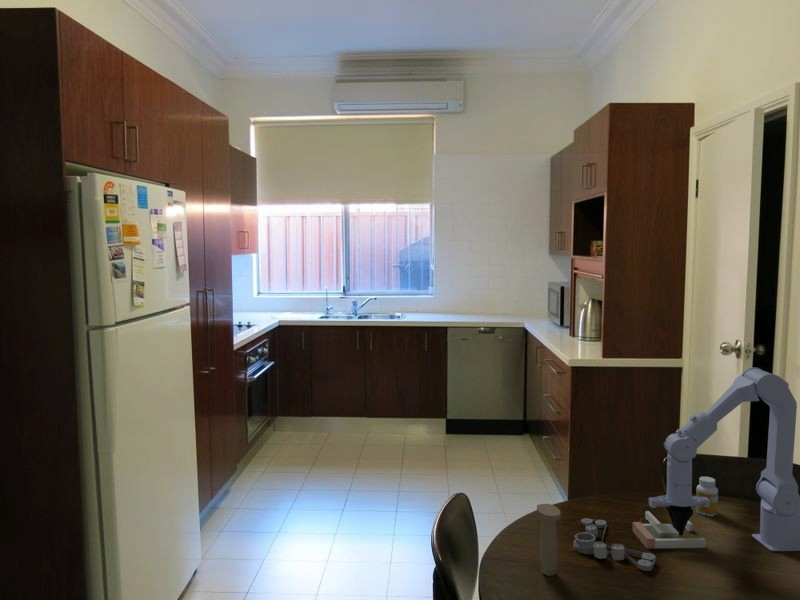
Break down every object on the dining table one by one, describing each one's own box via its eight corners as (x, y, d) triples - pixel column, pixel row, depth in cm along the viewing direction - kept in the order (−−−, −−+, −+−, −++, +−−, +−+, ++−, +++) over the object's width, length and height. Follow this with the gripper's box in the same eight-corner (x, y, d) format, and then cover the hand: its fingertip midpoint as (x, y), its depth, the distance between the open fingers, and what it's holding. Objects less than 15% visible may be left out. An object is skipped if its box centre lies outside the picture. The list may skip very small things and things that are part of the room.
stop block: (640, 531, 150) (640, 522, 149) (655, 548, 141) (655, 538, 140) (632, 531, 150) (632, 522, 149) (646, 548, 141) (647, 538, 140)
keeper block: (670, 535, 147) (670, 523, 147) (678, 544, 142) (679, 533, 142) (650, 535, 147) (650, 523, 147) (658, 544, 142) (658, 533, 142)
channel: (677, 517, 157) (678, 510, 157) (709, 547, 140) (709, 539, 140) (629, 518, 157) (629, 511, 157) (655, 548, 141) (655, 540, 140)
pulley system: (608, 584, 127) (666, 571, 130) (606, 564, 127) (664, 551, 130) (549, 533, 154) (598, 523, 157) (547, 516, 153) (597, 506, 157)
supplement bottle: (691, 510, 161) (692, 476, 161) (706, 507, 163) (707, 474, 162) (706, 518, 156) (707, 483, 156) (722, 515, 158) (722, 481, 157)
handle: (544, 581, 127) (544, 516, 126) (533, 566, 133) (532, 504, 132) (564, 579, 128) (564, 514, 127) (552, 564, 134) (552, 502, 133)
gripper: (699, 475, 148) (698, 526, 149) (644, 476, 148) (643, 526, 149) (714, 486, 141) (713, 539, 142) (655, 486, 141) (655, 539, 142)
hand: (678, 533), depth 145 cm, fingers closed
